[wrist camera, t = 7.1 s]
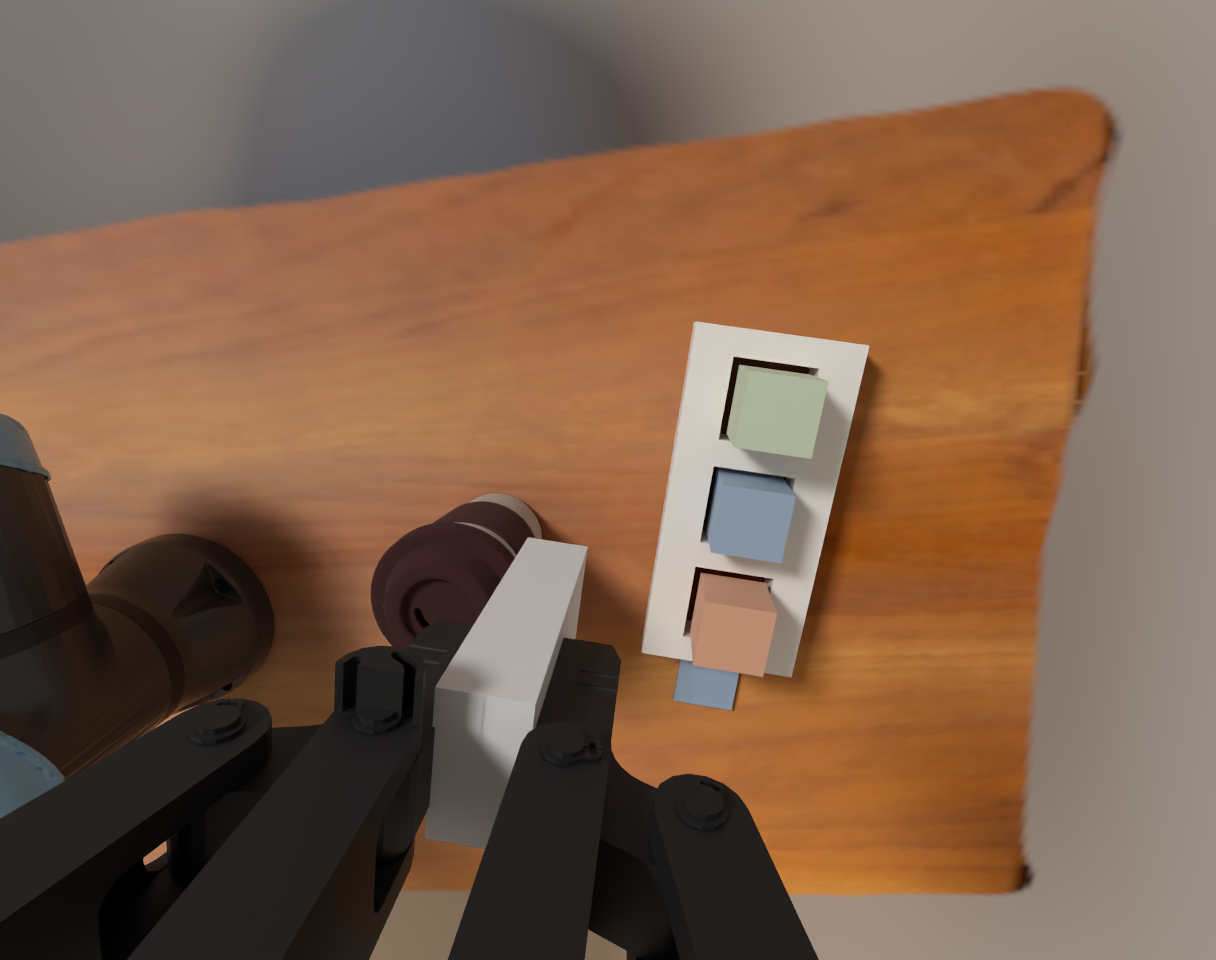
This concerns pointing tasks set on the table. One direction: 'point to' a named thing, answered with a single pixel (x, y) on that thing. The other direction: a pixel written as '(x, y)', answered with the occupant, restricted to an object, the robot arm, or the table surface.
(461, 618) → the coffee cup
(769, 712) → the table surface
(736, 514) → the button slate
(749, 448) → the button sage
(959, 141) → the table surface
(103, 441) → the table surface
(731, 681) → the swatch
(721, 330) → the button board
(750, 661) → the button terracotta
